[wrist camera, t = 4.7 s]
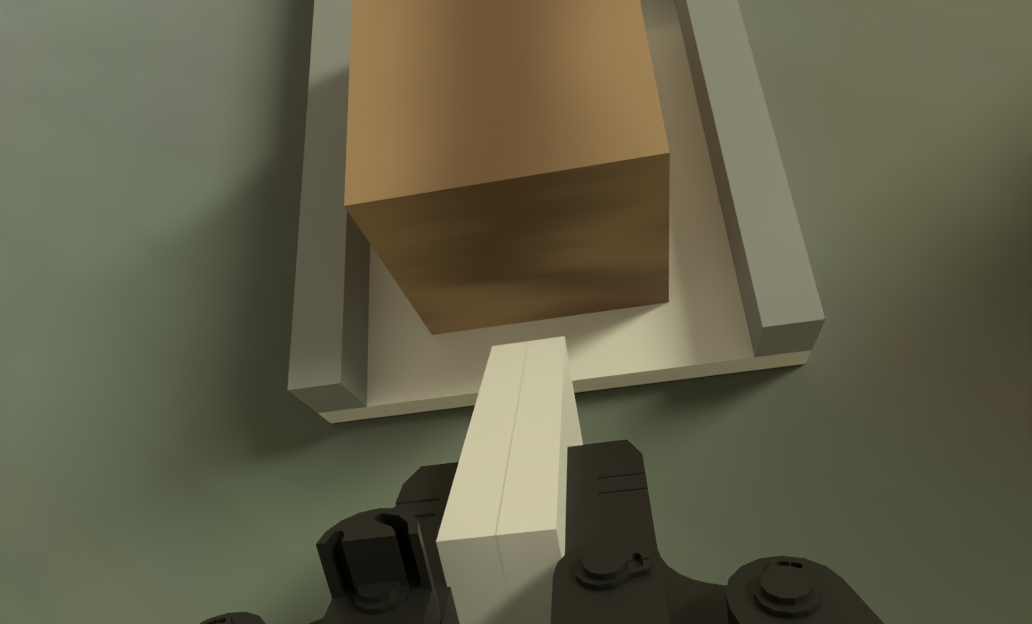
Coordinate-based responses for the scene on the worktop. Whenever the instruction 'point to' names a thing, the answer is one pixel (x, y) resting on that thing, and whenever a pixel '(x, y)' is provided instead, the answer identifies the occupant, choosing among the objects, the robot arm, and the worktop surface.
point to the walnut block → (509, 157)
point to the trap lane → (589, 337)
